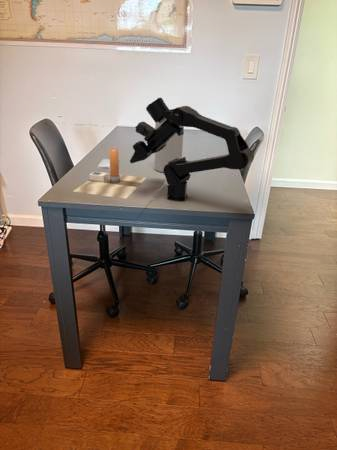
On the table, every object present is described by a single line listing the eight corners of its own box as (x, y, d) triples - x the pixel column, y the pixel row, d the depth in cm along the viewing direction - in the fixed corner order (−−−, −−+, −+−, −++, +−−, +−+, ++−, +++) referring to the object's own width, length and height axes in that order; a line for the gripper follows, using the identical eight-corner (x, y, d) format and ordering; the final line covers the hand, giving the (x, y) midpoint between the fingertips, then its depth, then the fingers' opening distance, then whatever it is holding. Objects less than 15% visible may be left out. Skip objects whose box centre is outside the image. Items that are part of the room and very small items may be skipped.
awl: (122, 181, 136) (121, 149, 130) (115, 183, 133) (114, 151, 127) (114, 179, 138) (113, 147, 132) (107, 181, 135) (106, 149, 129)
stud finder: (107, 178, 138) (107, 172, 137) (103, 181, 135) (103, 175, 133) (94, 177, 139) (93, 171, 138) (89, 180, 136) (89, 174, 135)
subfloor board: (146, 181, 142) (146, 177, 141) (126, 202, 121) (126, 198, 120) (100, 175, 146) (100, 171, 145) (73, 195, 125) (72, 191, 125)
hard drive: (102, 158, 165) (97, 166, 154) (119, 159, 165) (114, 167, 154) (102, 162, 166) (97, 169, 155) (119, 162, 166) (115, 170, 155)
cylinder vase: (150, 166, 160) (151, 111, 149) (174, 164, 165) (177, 111, 153) (160, 174, 150) (161, 116, 139) (185, 172, 155) (189, 116, 143)
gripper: (159, 111, 126) (133, 137, 135) (137, 119, 111) (109, 147, 119) (178, 135, 127) (151, 159, 136) (159, 145, 112) (130, 172, 120)
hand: (136, 159), depth 128 cm, fingers open, 9 cm apart
